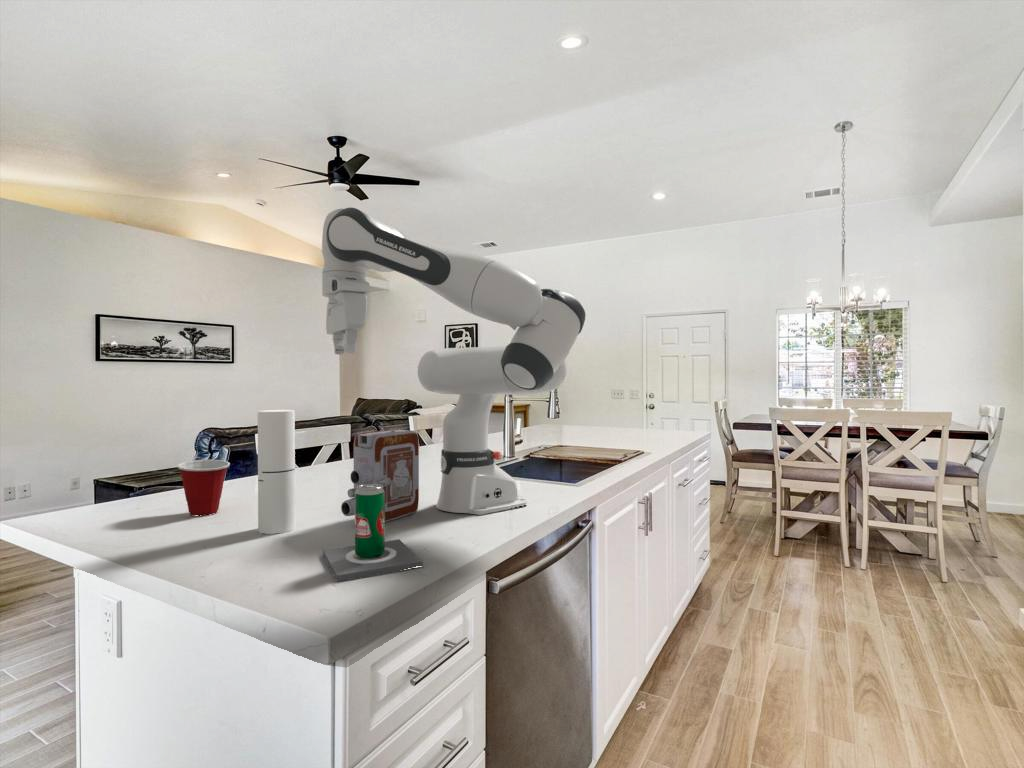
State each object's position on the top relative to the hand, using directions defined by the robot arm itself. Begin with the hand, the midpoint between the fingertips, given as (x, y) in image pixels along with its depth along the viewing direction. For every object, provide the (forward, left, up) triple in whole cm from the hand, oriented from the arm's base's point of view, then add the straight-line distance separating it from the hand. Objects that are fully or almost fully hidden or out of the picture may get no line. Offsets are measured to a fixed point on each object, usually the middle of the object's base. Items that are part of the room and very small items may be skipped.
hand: (344, 353), depth 115 cm
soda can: (0, +24, -36) cm, 43 cm away
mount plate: (0, +24, -37) cm, 44 cm away
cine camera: (-8, -3, -37) cm, 38 cm away
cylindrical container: (+13, -5, -37) cm, 40 cm away
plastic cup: (+27, -27, -37) cm, 53 cm away
